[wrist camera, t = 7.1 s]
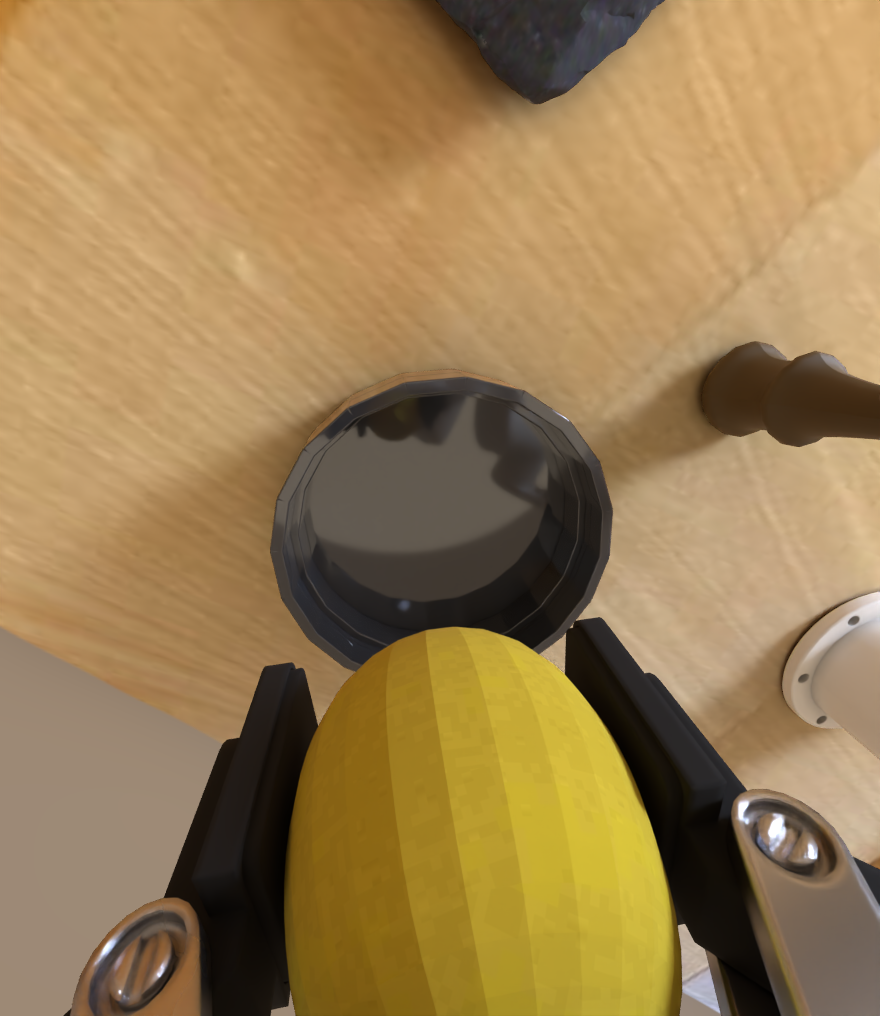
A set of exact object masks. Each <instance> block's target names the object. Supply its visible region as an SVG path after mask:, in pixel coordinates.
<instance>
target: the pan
mask: <svg viewBox="0 0 880 1016" xmlns="http://www.w3.org/2000/svg"><path fill="white" fill-rule="evenodd" d="M612 517H613V508H612V504H611V500H610V497H609V493H608V489H607V486H606V482H605V478H604V475H603V471H602V467H601V464H600V461H599V460H598V459H597V457H596V456H595V455H594V453H593V452H592V450H591V449H590V448H589V446H588V445H587V443H586V442H585V441H584V439H583V438H582V437H581V435H580V434H579V432H578V431H577V430H576V428H575V427H574V425H573V424H572V423H571V422H570V421H569V420H568V419H566V418H565V417H563V416H562V415H560V414H559V413H557V412H556V411H554V410H553V409H551V408H550V407H548V406H547V405H545V404H544V403H542V402H541V401H539V400H538V399H536V398H535V397H533V396H532V395H530V394H529V393H527V392H526V391H524V390H522V389H519V388H517V387H515V386H512V385H510V384H508V383H506V382H503V381H501V380H497V379H493V378H489V377H485V376H481V375H477V374H473V373H469V372H465V371H461V370H457V369H443V370H432V371H421V372H410V373H402V374H398V375H396V376H393V377H391V378H389V379H387V380H384V381H382V382H380V383H378V384H375V385H373V386H371V387H369V388H366V389H364V390H362V391H360V392H357V393H355V394H353V395H351V396H350V397H349V398H348V399H347V400H346V401H345V402H344V403H343V404H342V405H341V406H340V407H338V408H337V409H336V410H335V411H334V412H333V413H332V414H331V415H330V416H329V417H328V418H327V419H325V420H324V421H323V422H322V423H321V424H320V425H319V426H318V427H317V428H316V429H315V430H314V431H313V433H312V435H311V436H310V438H309V440H308V441H307V443H306V444H305V446H304V448H303V449H302V451H301V453H300V455H299V457H298V459H297V460H296V462H295V464H294V466H293V468H292V470H291V472H290V474H289V476H288V478H287V479H286V481H285V483H284V485H283V487H282V489H281V491H280V493H279V495H278V497H277V500H276V507H275V515H274V522H273V530H272V538H271V546H270V553H271V558H272V562H273V566H274V570H275V574H276V578H277V582H278V587H279V591H280V595H281V598H282V601H283V602H284V604H285V605H286V607H287V608H288V610H289V611H290V613H291V614H292V616H293V617H294V619H295V620H296V622H297V623H298V625H299V626H300V628H301V629H302V631H303V632H304V634H305V635H306V637H307V638H308V639H309V640H310V641H311V642H312V643H314V644H315V645H316V646H317V647H319V648H320V649H321V650H323V651H324V652H325V653H327V654H328V655H329V656H330V657H332V658H333V659H334V660H336V661H337V662H338V663H339V664H341V665H342V666H343V667H346V668H347V669H350V670H352V671H355V672H356V671H357V670H358V669H359V668H360V667H361V666H362V665H363V664H364V663H365V662H366V661H368V660H369V659H370V658H371V657H372V656H373V655H375V654H376V653H378V652H380V651H381V650H383V649H384V648H386V647H388V646H389V645H391V644H393V643H394V642H396V641H397V640H400V639H402V638H405V637H408V636H411V635H414V634H417V633H420V632H422V631H425V630H431V629H439V628H447V627H463V628H475V629H485V630H488V631H491V632H494V633H497V634H500V635H503V636H506V637H509V638H512V639H514V640H517V641H519V642H521V643H522V644H524V645H525V646H527V647H528V648H530V649H531V650H533V651H534V652H536V653H538V654H540V653H542V652H543V651H544V650H546V649H547V648H548V647H550V646H551V645H552V644H554V643H555V642H556V641H558V640H559V639H560V638H562V637H563V636H564V634H565V633H566V631H567V629H569V628H570V627H571V626H572V624H573V623H574V622H575V621H576V619H577V618H578V617H579V616H580V614H581V613H582V612H583V611H584V609H585V608H586V607H587V606H588V604H589V603H590V602H591V599H592V598H593V596H594V594H595V591H596V589H597V586H598V584H599V581H600V579H601V576H602V574H603V572H604V569H605V567H606V564H607V562H608V559H609V556H610V544H611V531H612Z"/></svg>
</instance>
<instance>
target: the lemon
mask: <svg viewBox="0 0 880 1016" xmlns="http://www.w3.org/2000/svg"><path fill="white" fill-rule="evenodd" d="M284 922H285V942H286V955H287V964H288V974H289V983H290V990H291V995H292V999H293V1005H294V1010H295V1014H296V1016H679V1014H680V1006H681V997H682V961H681V945H680V938H679V932H678V925H677V918H676V912H675V908H674V904H673V899H672V895H671V891H670V887H669V883H668V878H667V875H666V872H665V868H664V865H663V861H662V858H661V855H660V851H659V848H658V845H657V842H656V839H655V836H654V833H653V830H652V826H651V823H650V820H649V817H648V815H647V812H646V809H645V806H644V803H643V800H642V798H641V795H640V792H639V790H638V787H637V785H636V782H635V780H634V778H633V775H632V773H631V771H630V768H629V766H628V764H627V762H626V760H625V758H624V756H623V754H622V752H621V750H620V748H619V746H618V745H617V743H616V741H615V740H614V738H613V736H612V735H611V733H610V731H609V730H608V728H607V727H606V725H605V724H604V722H603V721H602V720H601V718H600V717H599V716H598V714H597V713H596V711H595V710H594V709H593V708H592V706H591V705H590V704H589V703H588V702H587V700H586V699H585V698H584V697H583V695H582V694H581V693H580V692H579V690H578V689H577V688H576V687H575V686H574V685H573V683H572V682H571V681H570V680H569V679H568V678H567V676H566V675H565V674H564V673H562V672H561V671H560V670H559V669H558V668H557V667H556V666H555V665H554V664H552V663H551V662H549V661H548V660H546V659H545V658H544V657H542V656H541V655H539V654H538V653H536V652H534V651H533V650H531V649H530V648H528V647H527V646H525V645H524V644H522V643H521V642H519V641H517V640H514V639H512V638H509V637H506V636H503V635H500V634H497V633H494V632H491V631H488V630H485V629H475V628H463V627H447V628H439V629H431V630H425V631H422V632H420V633H417V634H414V635H411V636H408V637H405V638H402V639H400V640H397V641H396V642H394V643H393V644H391V645H389V646H388V647H386V648H384V649H383V650H381V651H380V652H378V653H376V654H375V655H373V656H372V657H371V658H370V659H369V660H368V661H366V662H365V663H364V664H363V665H362V666H361V667H360V668H359V669H358V670H357V671H356V672H355V673H354V674H353V675H352V676H351V677H350V678H349V679H348V680H347V681H346V682H345V683H344V685H343V686H342V687H341V689H340V690H339V691H338V693H337V694H336V696H335V698H334V699H333V701H332V703H331V705H330V706H329V708H328V710H327V711H326V713H325V715H324V717H323V718H322V720H321V722H320V724H319V726H318V728H317V730H316V732H315V734H314V736H313V738H312V741H311V743H310V746H309V748H308V751H307V753H306V757H305V760H304V763H303V767H302V770H301V773H300V778H299V783H298V788H297V793H296V797H295V802H294V807H293V812H292V817H291V822H290V827H289V834H288V842H287V850H286V861H285V878H284Z"/></svg>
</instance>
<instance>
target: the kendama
mask: <svg viewBox="0 0 880 1016" xmlns="http://www.w3.org/2000/svg"><path fill="white" fill-rule="evenodd" d="M702 404H703V411H704V413H705V415H706V417H707V418H708V420H709V422H710V424H711V425H713V426H714V427H715V428H717V429H718V430H719V431H721V432H722V433H724V434H727V435H733V436H738V437H742V436H745V435H748V434H751V433H754V432H757V431H759V430H767V431H768V433H769V434H770V435H771V436H772V437H774V438H775V439H776V440H777V441H779V442H780V443H782V444H786V445H791V446H796V447H801V446H804V445H808V444H811V443H814V442H817V441H819V440H820V439H821V438H823V437H849V438H864V439H877V440H880V385H877V384H874V383H871V382H868V381H865V380H862V379H859V378H857V377H854V376H852V375H850V374H848V373H847V370H846V368H845V367H844V366H843V365H842V364H841V363H840V362H839V361H838V360H837V359H836V358H835V357H834V356H832V355H829V354H825V353H821V352H817V351H814V352H811V353H808V354H805V355H802V356H799V357H797V358H795V359H794V360H793V361H787V359H786V357H785V356H784V355H783V354H781V353H780V352H779V351H778V350H777V349H776V348H775V347H774V346H772V345H769V344H765V343H761V342H750V343H747V344H745V345H742V346H739V347H736V348H734V349H733V350H732V351H731V352H729V353H728V354H727V355H726V356H724V357H723V358H722V359H720V360H719V362H718V363H717V365H716V366H715V367H714V369H713V370H712V371H711V373H710V374H709V375H708V377H707V380H706V383H705V386H704V388H703V391H702Z"/></svg>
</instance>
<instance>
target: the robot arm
mask: <svg viewBox="0 0 880 1016" xmlns="http://www.w3.org/2000/svg"><path fill="white" fill-rule="evenodd" d="M565 675H566V676H567V678H568V679H569V680H570V681H571V682H572V683H573V685H574V686H575V687H576V688H577V689H578V690H579V692H580V693H581V694H582V695H583V697H584V698H585V699H586V700H587V702H588V703H589V704H590V705H591V706H592V708H593V709H594V710H595V711H596V713H597V714H598V716H599V717H600V718H601V720H602V721H603V722H604V724H605V725H606V727H607V728H608V730H609V731H610V733H611V735H612V736H613V738H614V740H615V741H616V743H617V745H618V746H619V748H620V750H621V752H622V754H623V756H624V758H625V760H626V762H627V764H628V766H629V768H630V771H631V773H632V775H633V778H634V780H635V782H636V785H637V787H638V790H639V792H640V795H641V798H642V800H643V803H644V806H645V809H646V812H647V815H648V817H649V820H650V823H651V826H652V830H653V833H654V836H655V839H656V842H657V845H658V848H659V851H660V855H661V858H662V861H663V865H664V868H665V872H666V875H667V878H668V883H669V887H670V891H671V895H672V899H673V904H674V908H675V912H676V918H677V925H681V924H686V926H687V928H688V930H689V932H690V934H691V936H692V938H693V940H694V942H695V943H697V944H698V945H700V946H701V947H703V948H704V949H705V951H706V955H707V959H708V963H709V967H710V971H711V975H712V980H713V984H714V988H715V992H716V996H717V1000H718V1004H719V1008H720V1012H721V1016H880V869H878V868H875V867H873V866H871V865H869V864H867V863H865V862H863V861H861V860H859V859H857V858H854V857H852V855H851V854H850V852H849V850H848V848H847V846H846V844H845V843H844V841H843V840H842V839H841V837H840V836H839V834H838V833H837V832H836V830H835V829H834V827H832V826H831V825H830V824H829V823H828V822H827V821H826V820H825V819H824V818H823V817H822V816H821V815H820V814H819V813H818V812H816V811H815V810H813V809H812V808H810V807H809V806H807V805H806V804H804V803H803V802H801V801H799V800H797V799H795V798H793V797H790V796H788V795H786V794H784V793H780V792H776V791H772V790H768V789H752V790H749V791H747V790H746V788H745V787H744V786H743V785H742V783H741V782H740V781H739V780H738V778H737V777H736V776H735V775H734V773H733V772H732V771H731V769H730V768H729V767H728V766H727V764H726V763H725V762H724V761H723V759H722V758H721V757H720V756H719V754H718V753H717V752H716V751H715V749H714V748H713V747H712V745H711V744H710V743H709V742H708V740H707V739H706V738H705V737H704V735H703V734H702V733H701V732H700V730H699V729H698V728H697V727H696V725H695V724H694V723H693V721H692V720H691V719H690V718H689V716H688V715H687V714H686V713H685V711H684V710H683V709H682V708H681V706H680V705H679V704H678V703H677V701H676V700H675V699H674V697H673V696H672V695H671V694H670V692H669V691H668V690H667V689H666V687H665V686H664V685H663V684H662V682H661V681H660V680H659V679H658V678H657V677H656V676H655V675H653V674H651V673H644V672H643V671H642V670H641V668H640V667H639V666H638V664H637V663H636V662H635V660H634V659H633V658H632V656H631V655H630V654H629V653H628V651H627V650H626V649H625V647H624V646H623V645H622V643H621V642H620V641H619V639H618V638H617V637H616V635H615V634H614V633H613V632H612V630H611V629H610V628H609V626H608V625H607V624H606V622H605V621H604V620H603V619H602V618H600V617H598V618H591V619H584V620H578V621H575V622H574V624H573V628H569V629H567V631H566V656H565ZM782 689H783V695H784V698H785V700H786V702H787V704H788V706H789V707H790V708H791V709H792V710H793V711H794V712H795V713H796V714H797V715H798V716H799V717H800V718H801V719H803V720H804V721H805V722H806V723H808V724H811V725H813V726H815V727H820V728H826V729H845V730H846V731H847V732H848V733H849V734H850V735H852V736H853V737H854V738H855V739H856V740H857V741H859V742H860V743H861V744H862V745H863V746H864V747H865V748H867V749H868V750H869V751H870V752H871V753H872V754H874V755H875V756H876V757H877V758H878V759H879V760H880V592H874V593H871V594H867V595H864V596H861V597H858V598H855V599H853V600H851V601H849V602H847V603H845V604H842V605H841V606H839V607H838V608H836V609H834V610H833V611H831V612H830V613H828V614H827V615H825V616H824V617H823V618H822V619H820V620H819V621H818V622H817V623H816V624H814V625H813V626H812V627H811V629H810V630H809V631H808V632H807V633H806V634H805V635H804V636H803V637H802V638H801V640H800V641H799V642H798V644H797V645H796V647H795V648H794V650H793V651H792V653H791V655H790V657H789V659H788V661H787V664H786V667H785V670H784V673H783V682H782ZM317 728H318V724H317V720H316V716H315V711H314V707H313V703H312V699H311V695H310V691H309V687H308V683H307V679H306V675H305V671H304V669H303V668H299V669H296V668H295V665H294V664H293V663H285V664H278V665H271V666H265V667H264V669H263V671H262V673H261V676H260V679H259V682H258V685H257V688H256V691H255V694H254V697H253V700H252V703H251V705H250V708H249V711H248V714H247V717H246V720H245V723H244V726H243V729H242V732H241V735H240V738H235V739H229V740H226V741H225V742H224V743H223V745H222V747H221V749H220V751H219V753H218V756H217V758H216V761H215V764H214V766H213V769H212V772H211V774H210V777H209V779H208V782H207V785H206V788H205V790H204V793H203V795H202V798H201V801H200V803H199V806H198V808H197V811H196V814H195V816H194V819H193V822H192V824H191V827H190V830H189V832H188V835H187V838H186V840H185V843H184V846H183V848H182V851H181V854H180V856H179V859H178V862H177V864H176V867H175V869H174V872H173V875H172V877H171V880H170V882H169V885H168V888H167V890H166V893H165V896H164V898H162V899H159V900H156V901H153V902H150V903H147V904H145V905H143V906H142V907H140V908H138V909H137V910H135V911H134V912H132V913H131V914H129V915H127V916H126V917H125V918H124V919H123V920H122V921H121V922H120V923H118V924H117V925H116V926H115V927H114V928H113V929H112V930H111V931H110V932H109V933H108V934H107V935H106V937H105V938H104V939H103V940H102V942H101V943H100V944H99V945H98V947H97V948H96V949H95V950H94V952H93V953H92V955H91V957H90V959H89V961H88V962H87V964H86V966H85V968H84V970H83V971H82V973H81V975H80V979H79V982H78V985H77V988H76V991H75V994H74V998H73V1003H72V1008H71V1009H70V1010H69V1011H68V1012H67V1013H66V1014H65V1015H64V1016H270V1015H271V1010H272V1009H277V1008H281V1007H286V1006H288V1004H289V997H290V983H289V974H288V964H287V955H286V942H285V922H284V878H285V861H286V850H287V842H288V834H289V827H290V822H291V817H292V812H293V807H294V802H295V797H296V793H297V788H298V783H299V778H300V773H301V770H302V767H303V763H304V760H305V757H306V753H307V751H308V748H309V746H310V743H311V741H312V738H313V736H314V734H315V732H316V730H317Z"/></svg>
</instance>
